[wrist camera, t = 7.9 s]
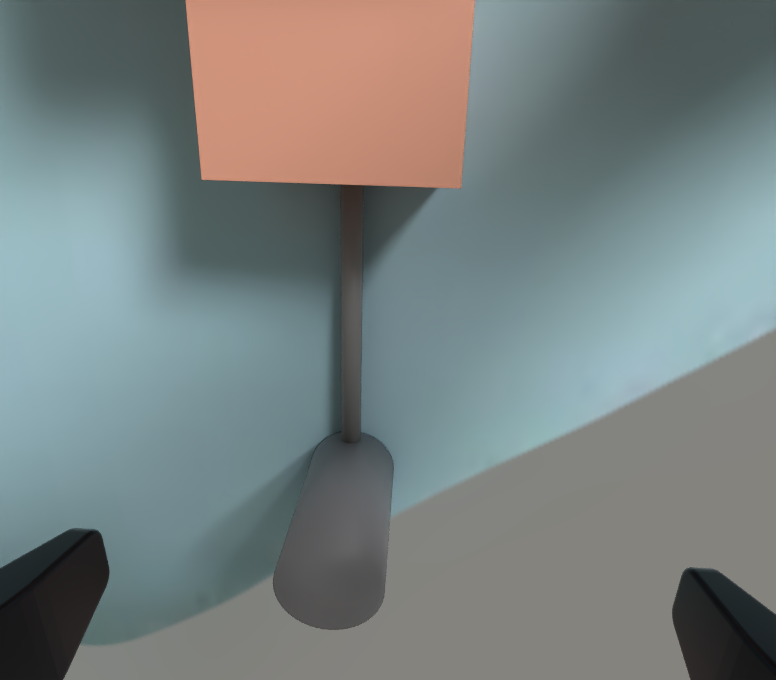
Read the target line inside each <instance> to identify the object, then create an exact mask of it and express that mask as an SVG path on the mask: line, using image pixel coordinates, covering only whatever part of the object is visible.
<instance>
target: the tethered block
mask: <svg viewBox="0 0 776 680" xmlns="http://www.w3.org/2000/svg"><path fill="white" fill-rule="evenodd" d="M185 1H186V12H187V23H188V34H189V45H190V56H191V67H192V78H193V89H194V100H195V111H196V122H197V134H198V145H199V156H200V167H201V178H202V180H225V181H255V182H284V183H314V184H341V386H342V432H339V433H336V434H333V435H331V436H329V437H327V438H326V439H324V440H323V441H322V442H321V443H320V444H319V445H318V446H317V448H316V450H315V451H314V454H313V457H312V460H311V463H310V466H309V469H308V472H307V475H306V478H305V481H304V484H303V487H302V490H301V493H300V496H299V499H298V502H297V505H296V508H295V511H294V514H293V517H292V520H291V524H290V527H289V530H288V533H287V536H286V539H285V542H284V545H283V548H282V551H281V554H280V557H279V560H278V563H277V566H276V569H275V572H274V577H273V587H274V592H275V595H276V597H277V600H278V601H279V603H280V604H281V606H282V607H283V608H284V609H285V610H286V611H287V612H288V613H289V614H290V615H291V616H292V617H294V618H295V619H297V620H299V621H301V622H302V623H305V624H307V625H310V626H313V627H316V628H321V629H328V630H339V629H347V628H351V627H355V626H357V625H360V624H362V623H364V622H365V621H367V620H369V619H370V618H371V617H372V616H373V615H374V614H375V613H376V612H377V611H378V609H379V608H380V606H381V604H382V602H383V599H384V593H385V581H386V567H387V554H388V540H389V539H388V538H389V526H390V513H391V499H392V485H393V471H394V466H393V460H392V457H391V455H390V453H389V451H388V450H387V448H386V447H385V446H384V445H383V444H382V443H381V442H380V441H379V440H377V439H376V438H374V437H372V436H370V435H368V434H365V433H362V432H361V364H362V278H363V192H364V185H374V186H404V187H433V188H461V184H462V170H463V156H464V143H465V129H466V115H467V102H468V88H469V74H470V61H471V47H472V34H473V20H474V6H475V0H185Z"/></svg>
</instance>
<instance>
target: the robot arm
mask: <svg viewBox="0 0 776 680" xmlns="http://www.w3.org/2000/svg"><path fill="white" fill-rule="evenodd" d="M108 579H109V565H108V561H107V556H106V552H105V547H104V543H103V539H102V535H101V534H100V532H99V531H97V530H95V529H82V528H74V529H70V530H68V531H66V532H64V533H62V534H60V535H58V536H57V537H55V538H53V539H51V540H50V541H48V542H46V543H44V544H42V545H41V546H39V547H37V548H35V549H34V550H32V551H30V552H28V553H26V554H25V555H23V556H21V557H19V558H18V559H16V560H14V561H12V562H11V563H9V564H7V565H5V566H3V567H2V568H0V680H63V679H64V677H65V675H66V673H67V671H68V669H69V667H70V664H71V662H72V660H73V658H74V656H75V654H76V651H77V649H78V647H79V645H80V643H81V640H82V638H83V636H84V634H85V632H86V630H87V627H88V625H89V623H90V621H91V619H92V616H93V614H94V612H95V610H96V608H97V605H98V603H99V601H100V599H101V597H102V595H103V592H104V590H105V588H106V585H107V583H108ZM672 618H673V624H674V627H675V630H676V634H677V637H678V640H679V644H680V647H681V650H682V653H683V657H684V660H685V663H686V667H687V670H688V673H689V676H690V679H691V680H776V614H775V613H773V612H772V611H770V610H769V609H768V608H767V607H765V606H764V605H763V604H761V603H760V602H759V601H758V600H756V599H755V598H754V597H752V596H751V595H750V594H748V593H747V592H746V591H744V590H743V589H742V588H740V587H739V586H738V585H736V584H735V583H734V582H732V581H731V580H730V579H728V578H727V577H726V576H724V575H723V574H722V573H720V572H719V571H717V570H715V569H710V568H694V567H690V568H686V569H685V570H684V572H683V574H682V576H681V580H680V583H679V586H678V590H677V593H676V597H675V601H674V604H673V609H672Z"/></svg>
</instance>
